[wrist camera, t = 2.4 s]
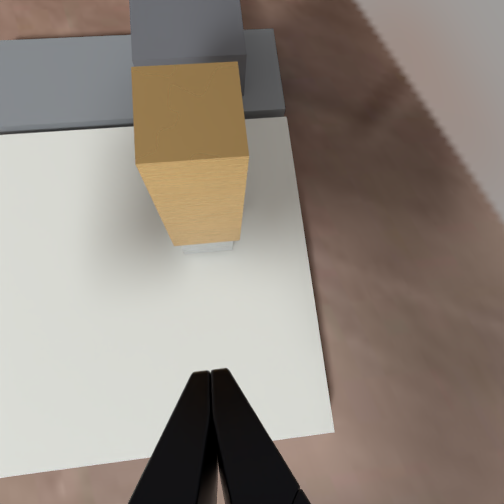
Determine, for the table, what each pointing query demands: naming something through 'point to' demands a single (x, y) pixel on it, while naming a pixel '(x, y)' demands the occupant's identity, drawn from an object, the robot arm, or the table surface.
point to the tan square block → (192, 150)
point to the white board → (141, 252)
